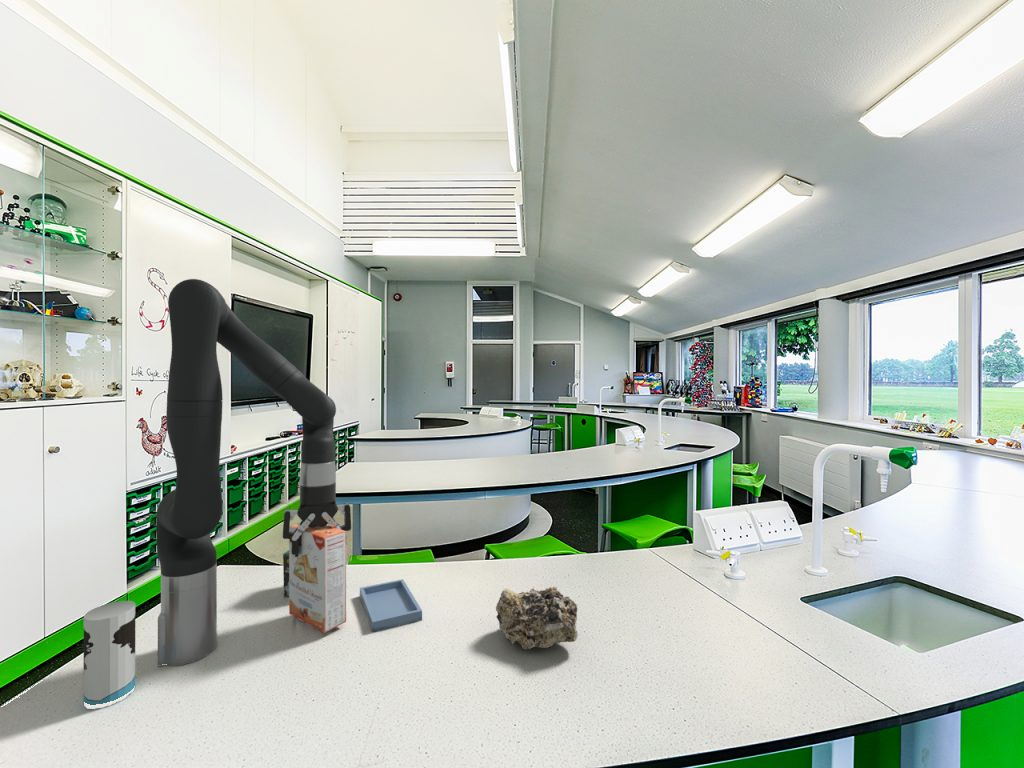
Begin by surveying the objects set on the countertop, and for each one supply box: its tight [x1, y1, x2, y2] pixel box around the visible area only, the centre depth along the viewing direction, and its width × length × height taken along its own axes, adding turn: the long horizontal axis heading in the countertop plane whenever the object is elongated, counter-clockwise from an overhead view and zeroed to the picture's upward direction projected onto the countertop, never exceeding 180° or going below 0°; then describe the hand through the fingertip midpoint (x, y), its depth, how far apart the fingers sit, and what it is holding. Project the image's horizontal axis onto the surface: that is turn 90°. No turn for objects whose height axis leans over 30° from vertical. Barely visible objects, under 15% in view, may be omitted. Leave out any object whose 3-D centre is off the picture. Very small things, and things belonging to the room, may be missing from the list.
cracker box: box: [288, 522, 347, 634], centre depth 102 cm, size 14×6×21 cm, turn 56°
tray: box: [359, 578, 423, 633], centre depth 109 cm, size 11×19×2 cm, turn 27°
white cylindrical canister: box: [83, 600, 136, 705], centre depth 78 cm, size 7×7×15 cm
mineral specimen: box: [495, 586, 579, 650], centre depth 97 cm, size 16×18×10 cm
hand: (317, 552), depth 101 cm, fingers closed on cracker box, 8 cm apart
